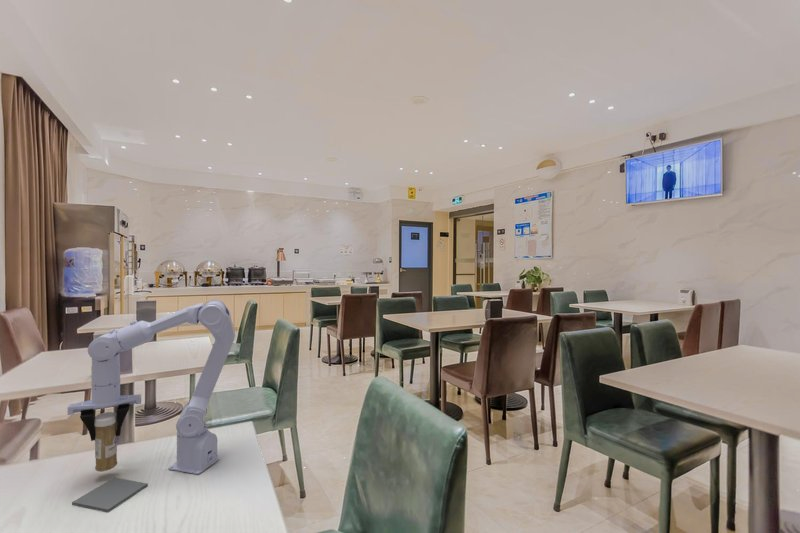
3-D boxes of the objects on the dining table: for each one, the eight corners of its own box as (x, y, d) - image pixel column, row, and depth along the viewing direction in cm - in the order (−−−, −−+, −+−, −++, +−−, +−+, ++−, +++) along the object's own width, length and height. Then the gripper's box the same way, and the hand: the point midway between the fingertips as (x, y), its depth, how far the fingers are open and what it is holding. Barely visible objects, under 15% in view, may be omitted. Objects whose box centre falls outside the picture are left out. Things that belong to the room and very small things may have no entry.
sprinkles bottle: (116, 469, 96) (116, 417, 95) (93, 474, 94) (92, 421, 93) (118, 459, 100) (117, 409, 99) (95, 464, 98) (95, 413, 97)
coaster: (147, 485, 94) (147, 483, 94) (108, 512, 84) (108, 509, 84) (114, 479, 96) (114, 477, 96) (72, 504, 86) (72, 502, 86)
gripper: (141, 374, 104) (141, 424, 104) (71, 382, 96) (71, 436, 96) (140, 381, 98) (140, 434, 98) (65, 391, 90) (65, 449, 90)
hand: (106, 436), depth 97 cm, fingers closed on sprinkles bottle, 4 cm apart
